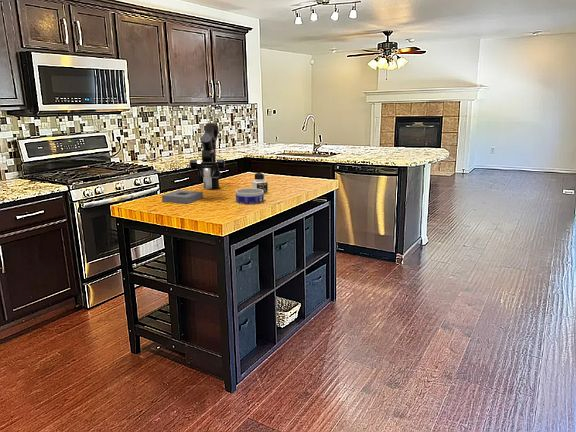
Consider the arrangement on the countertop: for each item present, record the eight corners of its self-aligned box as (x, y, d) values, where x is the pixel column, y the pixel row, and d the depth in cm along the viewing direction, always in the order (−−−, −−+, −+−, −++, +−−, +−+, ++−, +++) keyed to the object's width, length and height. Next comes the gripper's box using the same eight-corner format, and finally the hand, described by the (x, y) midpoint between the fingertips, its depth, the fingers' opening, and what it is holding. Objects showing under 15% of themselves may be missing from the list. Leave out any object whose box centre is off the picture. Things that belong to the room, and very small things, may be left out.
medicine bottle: (256, 194, 259) (256, 174, 256) (252, 192, 265) (251, 172, 262) (267, 193, 262) (267, 173, 259) (263, 191, 268) (262, 171, 265)
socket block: (178, 195, 256) (178, 190, 255) (203, 197, 251) (202, 191, 250) (162, 201, 241) (161, 195, 241) (187, 203, 236) (187, 197, 235)
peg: (210, 187, 246) (209, 167, 243) (213, 188, 242) (212, 168, 239) (202, 187, 244) (201, 168, 241) (205, 189, 240) (204, 169, 237)
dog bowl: (246, 197, 253) (246, 187, 251) (269, 200, 245) (269, 189, 244) (230, 202, 240) (229, 191, 239) (253, 205, 233) (253, 194, 231)
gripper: (189, 144, 240) (187, 168, 232) (223, 144, 242) (223, 167, 234) (191, 157, 250) (190, 180, 242) (224, 157, 251) (224, 179, 243)
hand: (207, 176), depth 240 cm, fingers closed on peg, 4 cm apart
